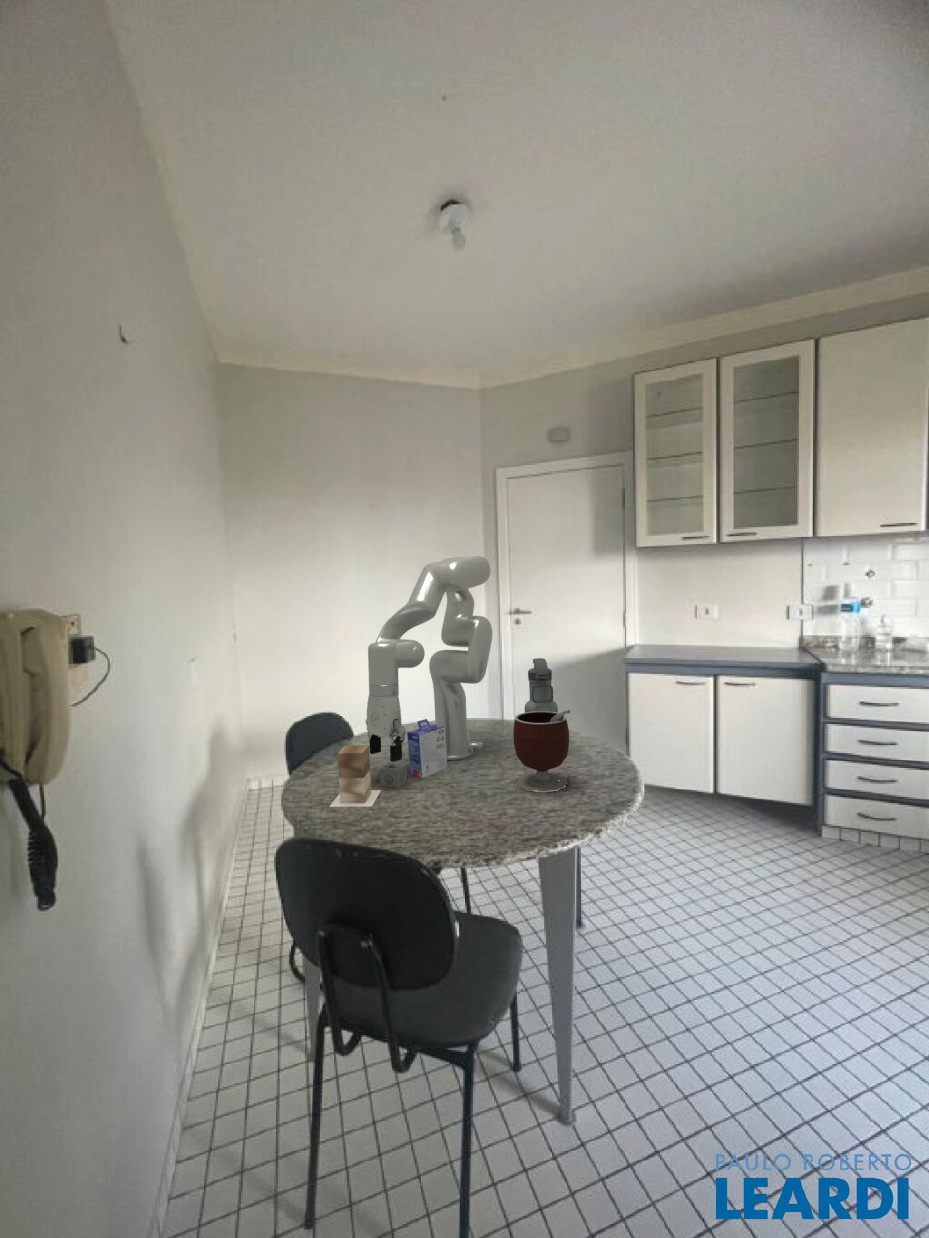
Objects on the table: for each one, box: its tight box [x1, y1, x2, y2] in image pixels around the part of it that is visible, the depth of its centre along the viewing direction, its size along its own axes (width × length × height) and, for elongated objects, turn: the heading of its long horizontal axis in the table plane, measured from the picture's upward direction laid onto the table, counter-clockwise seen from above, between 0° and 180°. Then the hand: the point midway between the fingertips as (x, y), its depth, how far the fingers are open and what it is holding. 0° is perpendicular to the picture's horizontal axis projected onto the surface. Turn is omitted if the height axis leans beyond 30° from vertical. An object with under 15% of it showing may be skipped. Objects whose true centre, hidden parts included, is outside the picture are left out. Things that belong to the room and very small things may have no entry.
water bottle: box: [524, 657, 559, 713], centre depth 163 cm, size 10×10×28 cm
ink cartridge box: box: [406, 718, 448, 778], centre depth 151 cm, size 10×6×14 cm, turn 137°
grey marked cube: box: [379, 762, 408, 789], centre depth 142 cm, size 5×5×5 cm
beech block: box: [338, 769, 372, 803], centre depth 133 cm, size 6×6×6 cm
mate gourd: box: [512, 709, 571, 791], centre depth 138 cm, size 16×14×20 cm
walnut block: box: [337, 744, 371, 779], centre depth 133 cm, size 6×6×6 cm
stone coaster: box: [329, 789, 382, 808], centre depth 133 cm, size 10×10×1 cm
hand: (385, 756), depth 142 cm, fingers open, 9 cm apart
